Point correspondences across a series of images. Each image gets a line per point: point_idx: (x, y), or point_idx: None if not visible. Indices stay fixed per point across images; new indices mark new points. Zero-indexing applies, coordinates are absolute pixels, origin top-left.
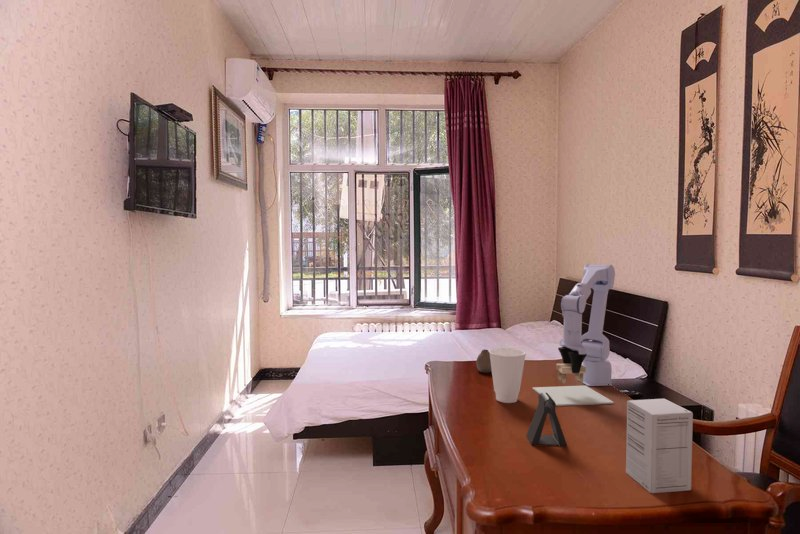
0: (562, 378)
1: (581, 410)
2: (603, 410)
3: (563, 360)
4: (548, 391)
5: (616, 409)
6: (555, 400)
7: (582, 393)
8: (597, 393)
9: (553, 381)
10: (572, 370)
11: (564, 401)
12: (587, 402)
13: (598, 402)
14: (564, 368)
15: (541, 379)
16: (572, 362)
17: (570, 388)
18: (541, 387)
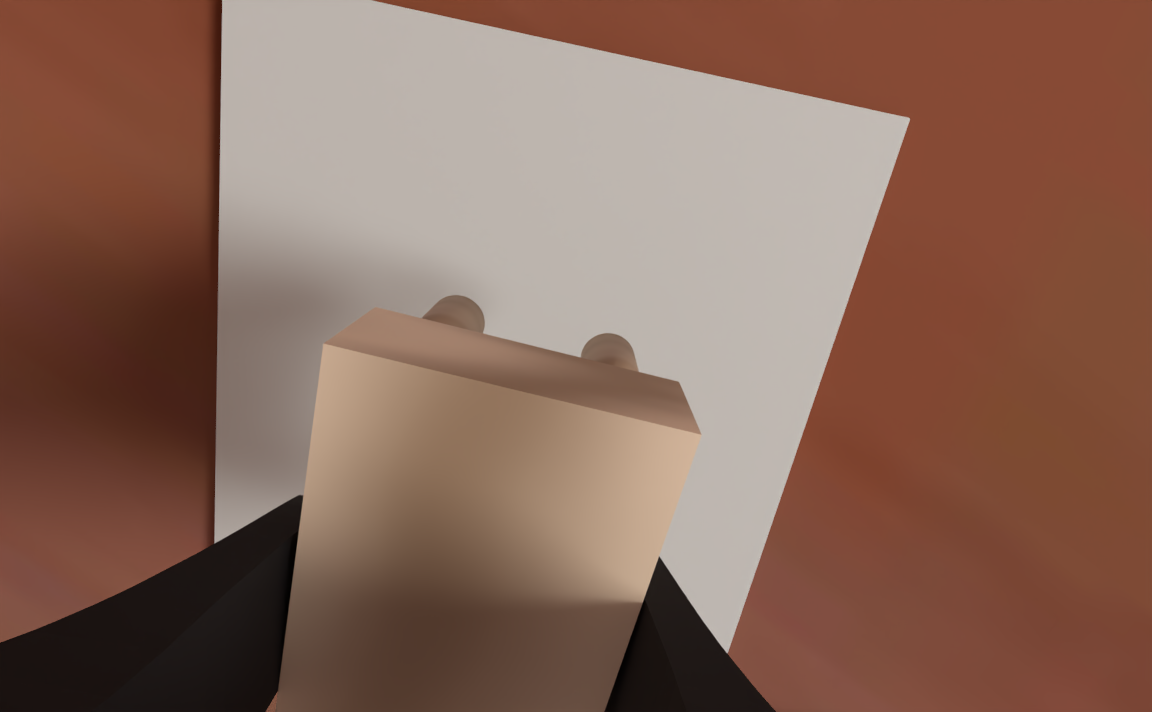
0: (437, 314)
1: (65, 197)
2: (53, 409)
3: (678, 649)
4: (690, 219)
5: (73, 531)
6: (366, 84)
7: None
8: None
9: (997, 521)
10: (284, 514)
11: (310, 170)
12: (239, 392)
13: (223, 489)
14: (321, 386)
15: (1125, 448)
16: (85, 616)
17: (689, 514)
18: (853, 232)
